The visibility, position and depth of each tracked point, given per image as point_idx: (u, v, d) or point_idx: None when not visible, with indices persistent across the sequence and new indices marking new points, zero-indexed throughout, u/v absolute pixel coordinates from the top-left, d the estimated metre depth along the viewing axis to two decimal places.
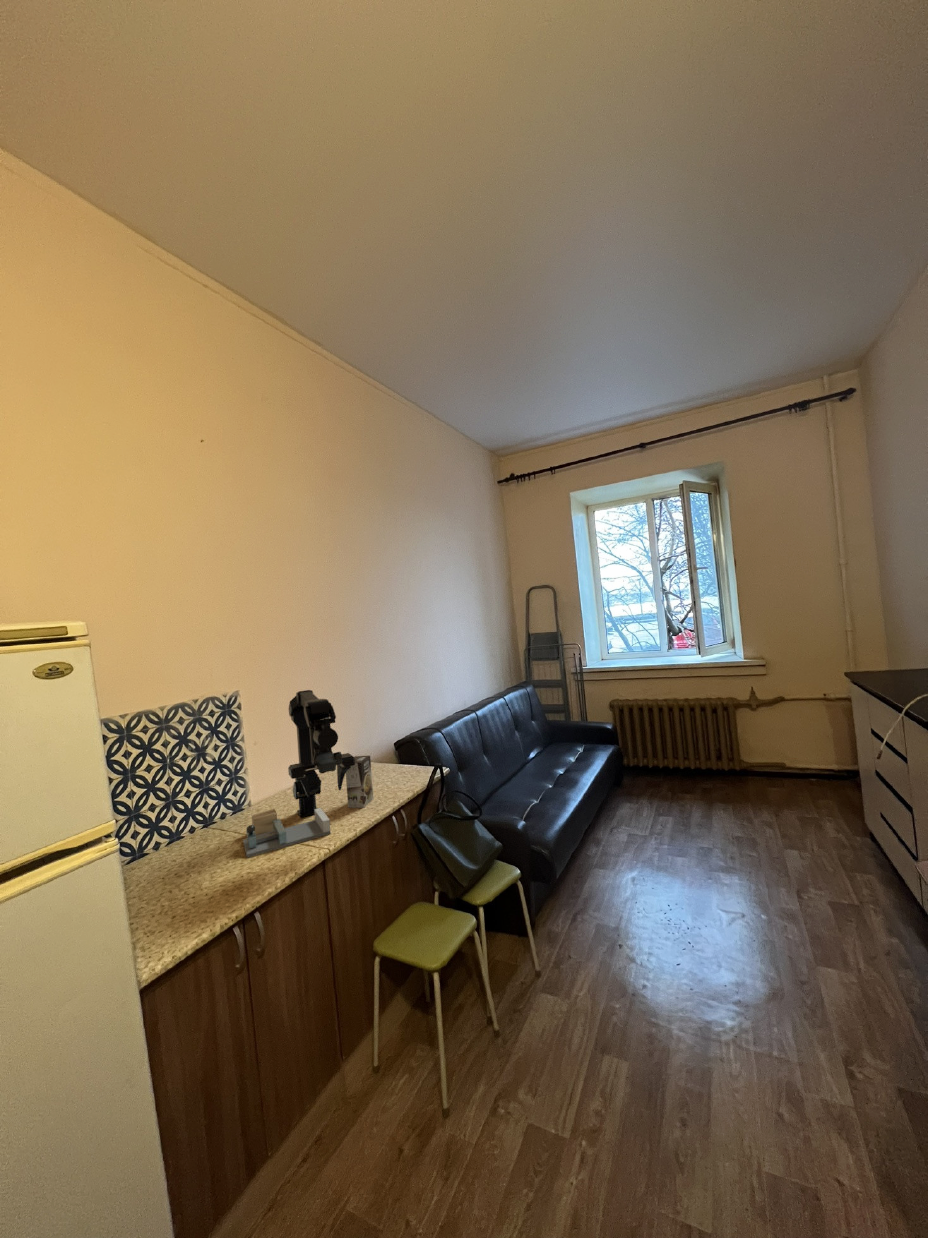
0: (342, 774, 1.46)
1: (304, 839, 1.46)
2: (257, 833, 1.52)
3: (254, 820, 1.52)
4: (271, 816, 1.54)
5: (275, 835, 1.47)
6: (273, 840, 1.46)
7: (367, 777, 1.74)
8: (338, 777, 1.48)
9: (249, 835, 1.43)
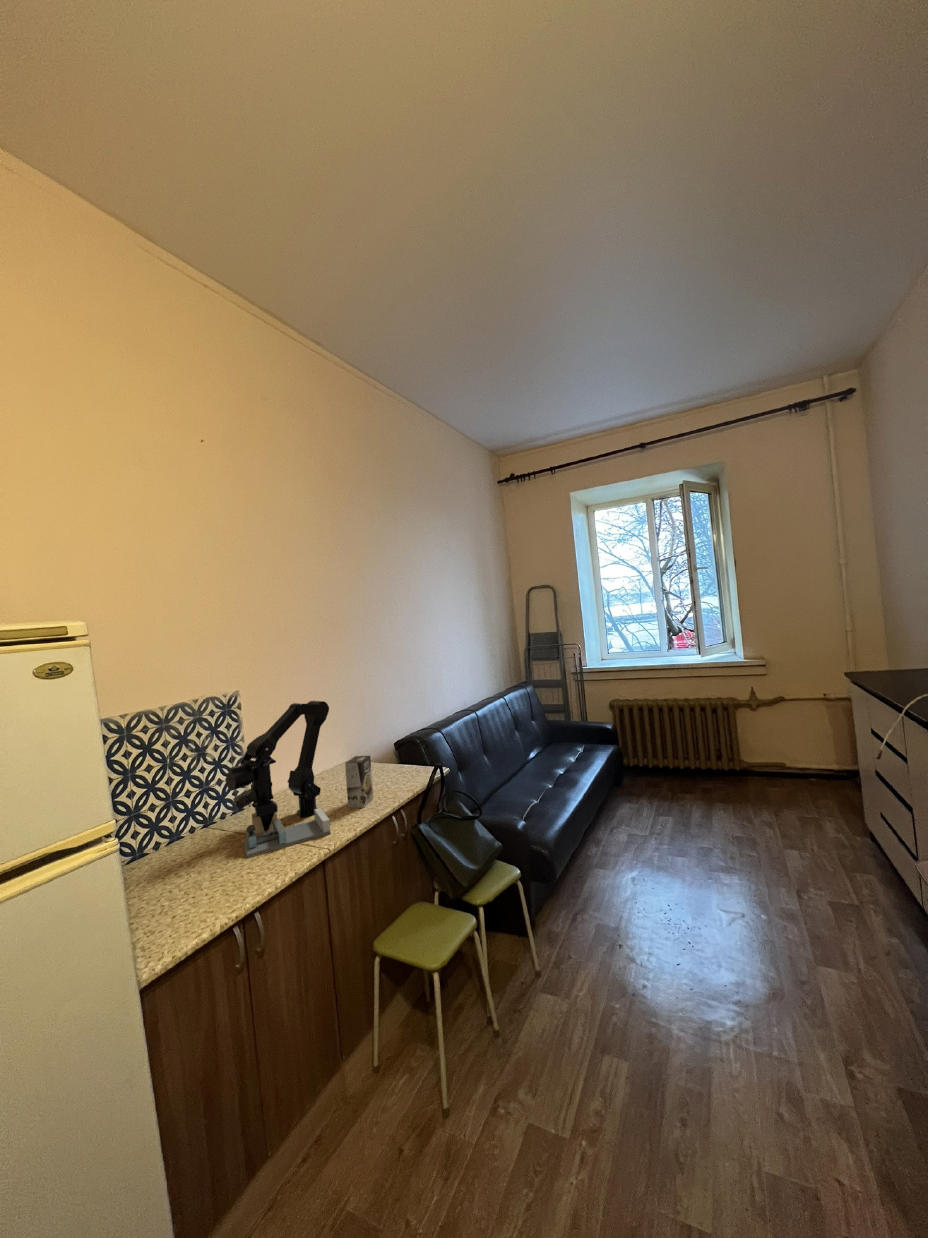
0: (260, 817, 1.52)
1: (304, 839, 1.46)
2: (257, 833, 1.52)
3: (254, 820, 1.52)
4: None
5: (275, 835, 1.47)
6: (273, 840, 1.46)
7: (366, 777, 1.74)
8: None
9: (249, 835, 1.43)
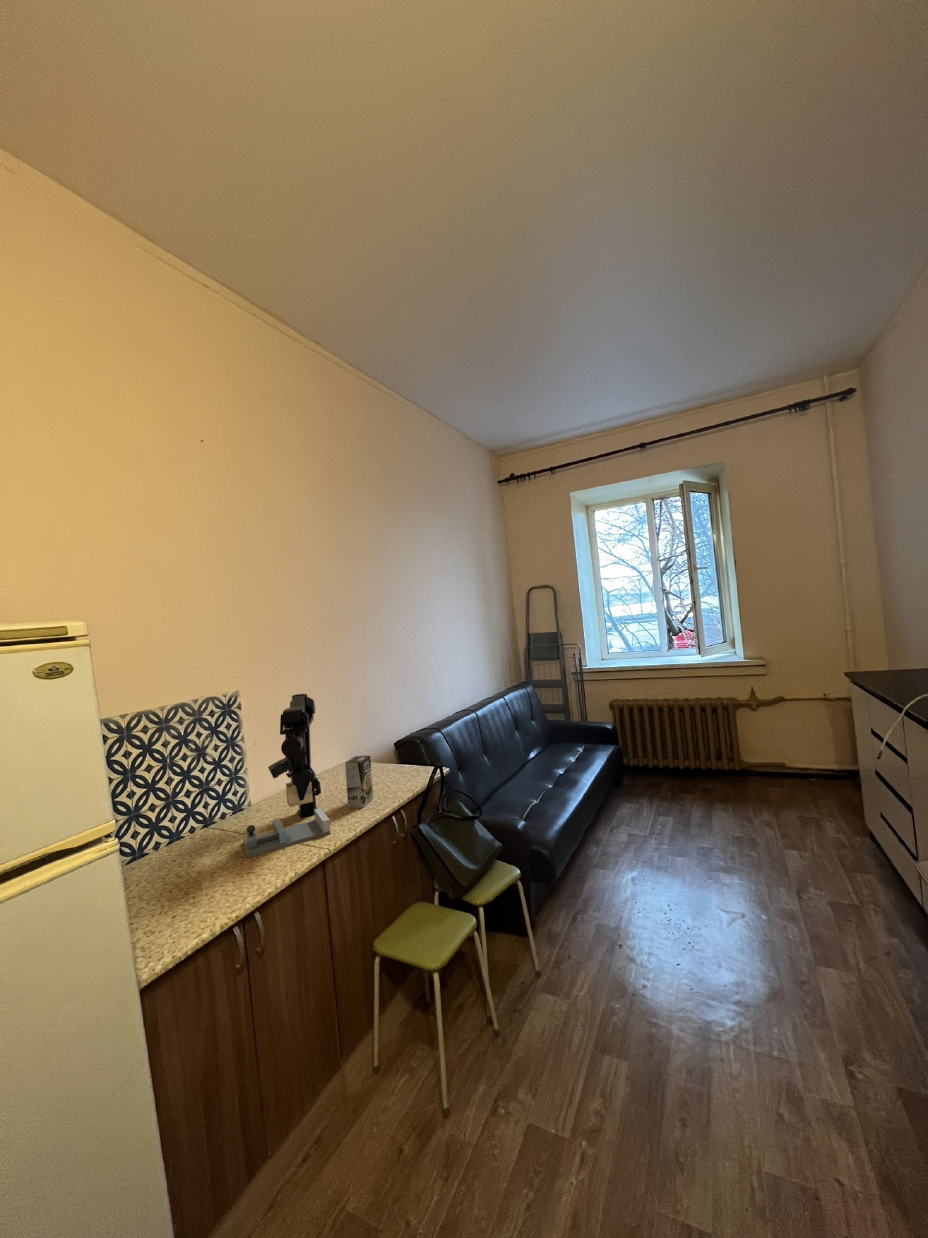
0: None
1: (304, 839, 1.46)
2: (292, 802, 1.49)
3: (289, 789, 1.49)
4: None
5: (275, 835, 1.47)
6: (273, 840, 1.46)
7: (367, 777, 1.74)
8: None
9: (249, 835, 1.43)
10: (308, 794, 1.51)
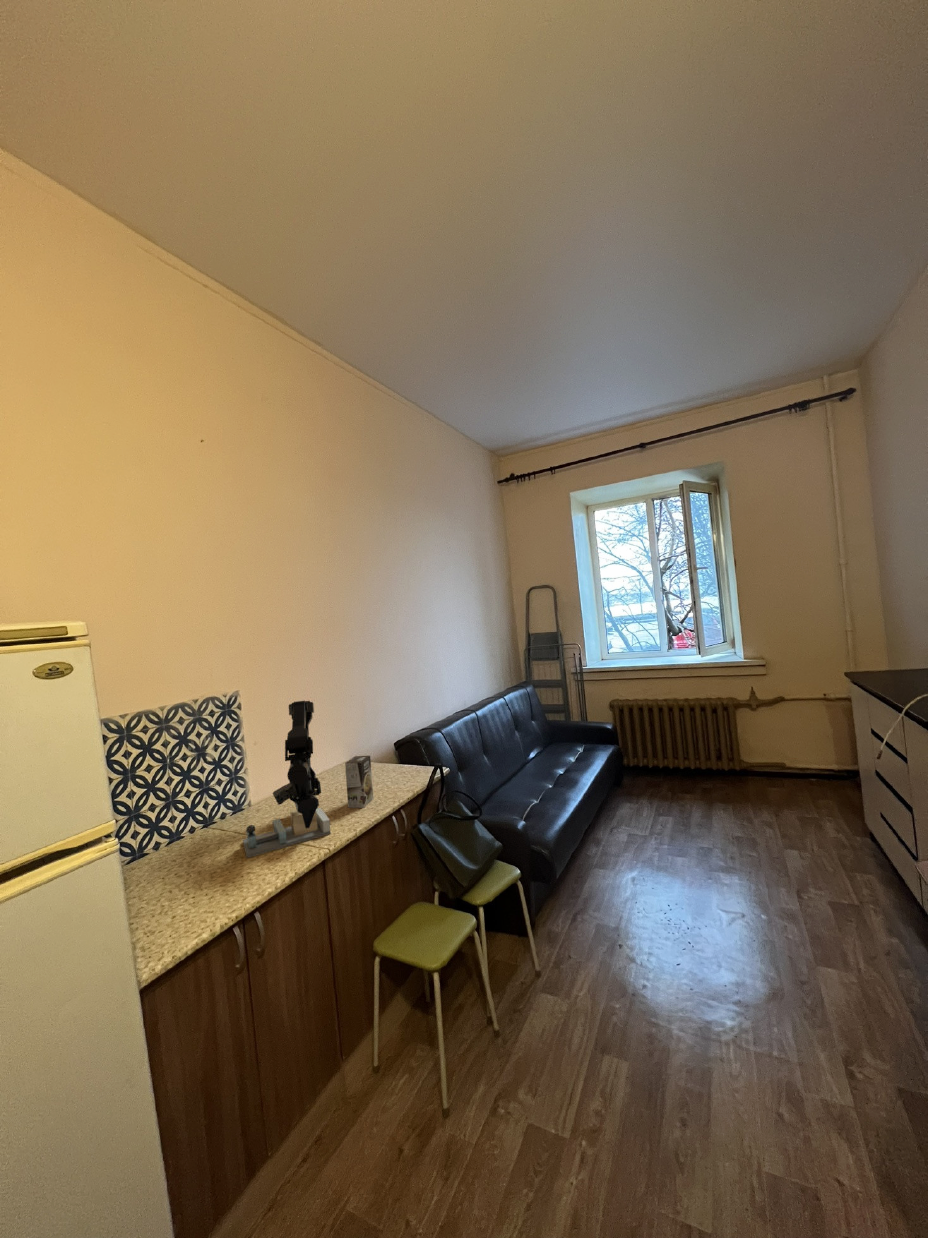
0: (302, 814, 1.47)
1: (304, 839, 1.46)
2: (297, 831, 1.49)
3: (294, 818, 1.48)
4: None
5: (275, 835, 1.47)
6: (273, 840, 1.46)
7: (367, 777, 1.74)
8: None
9: (249, 835, 1.43)
10: (313, 823, 1.51)
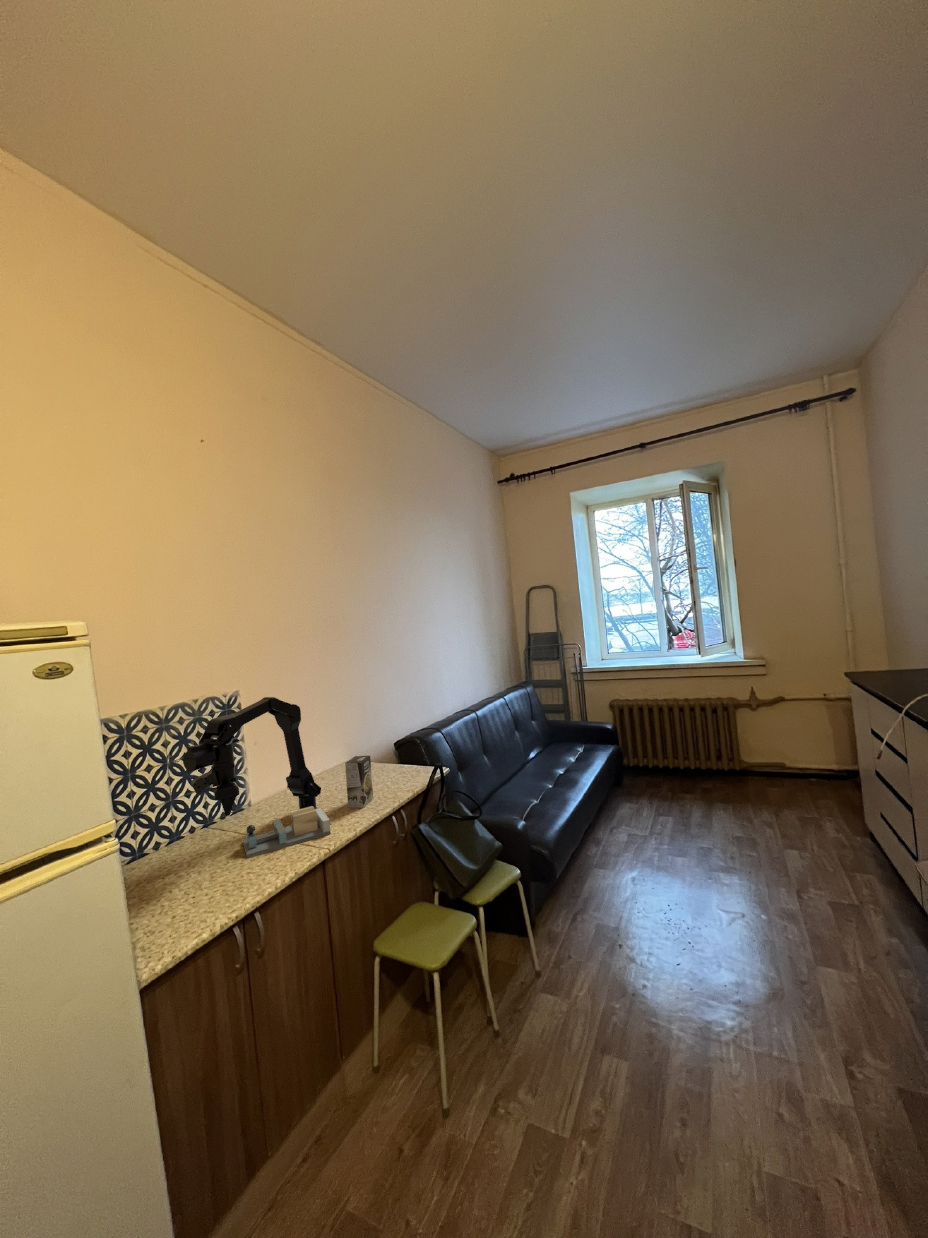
0: None
1: (304, 839, 1.46)
2: (297, 831, 1.49)
3: (294, 818, 1.48)
4: (311, 813, 1.51)
5: (275, 835, 1.47)
6: (273, 840, 1.46)
7: (367, 777, 1.74)
8: None
9: (249, 835, 1.43)
10: (313, 823, 1.51)
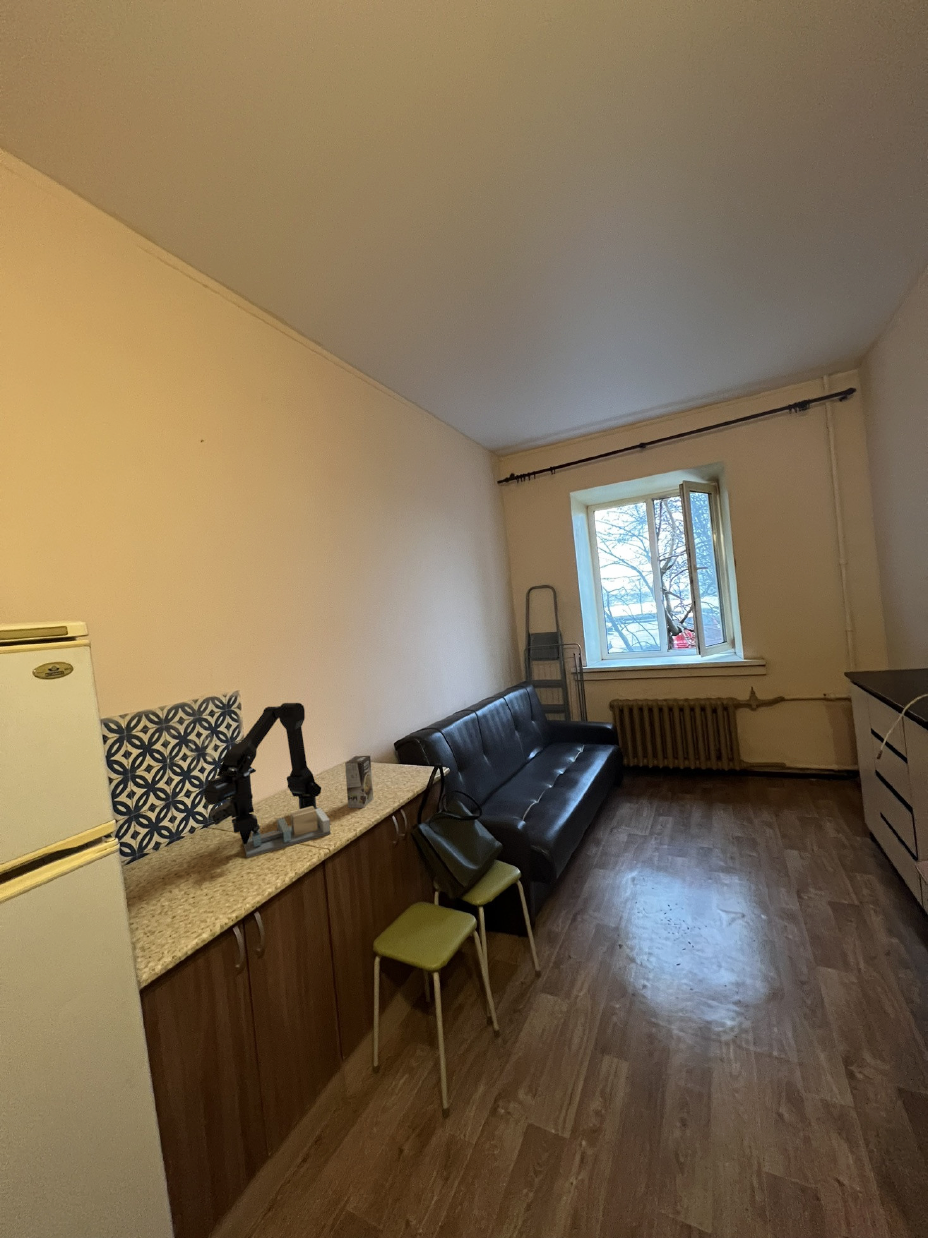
0: None
1: (304, 839, 1.46)
2: (297, 831, 1.49)
3: (294, 818, 1.48)
4: (311, 813, 1.51)
5: (279, 834, 1.48)
6: (273, 840, 1.46)
7: (367, 777, 1.74)
8: None
9: (254, 834, 1.44)
10: (313, 823, 1.51)
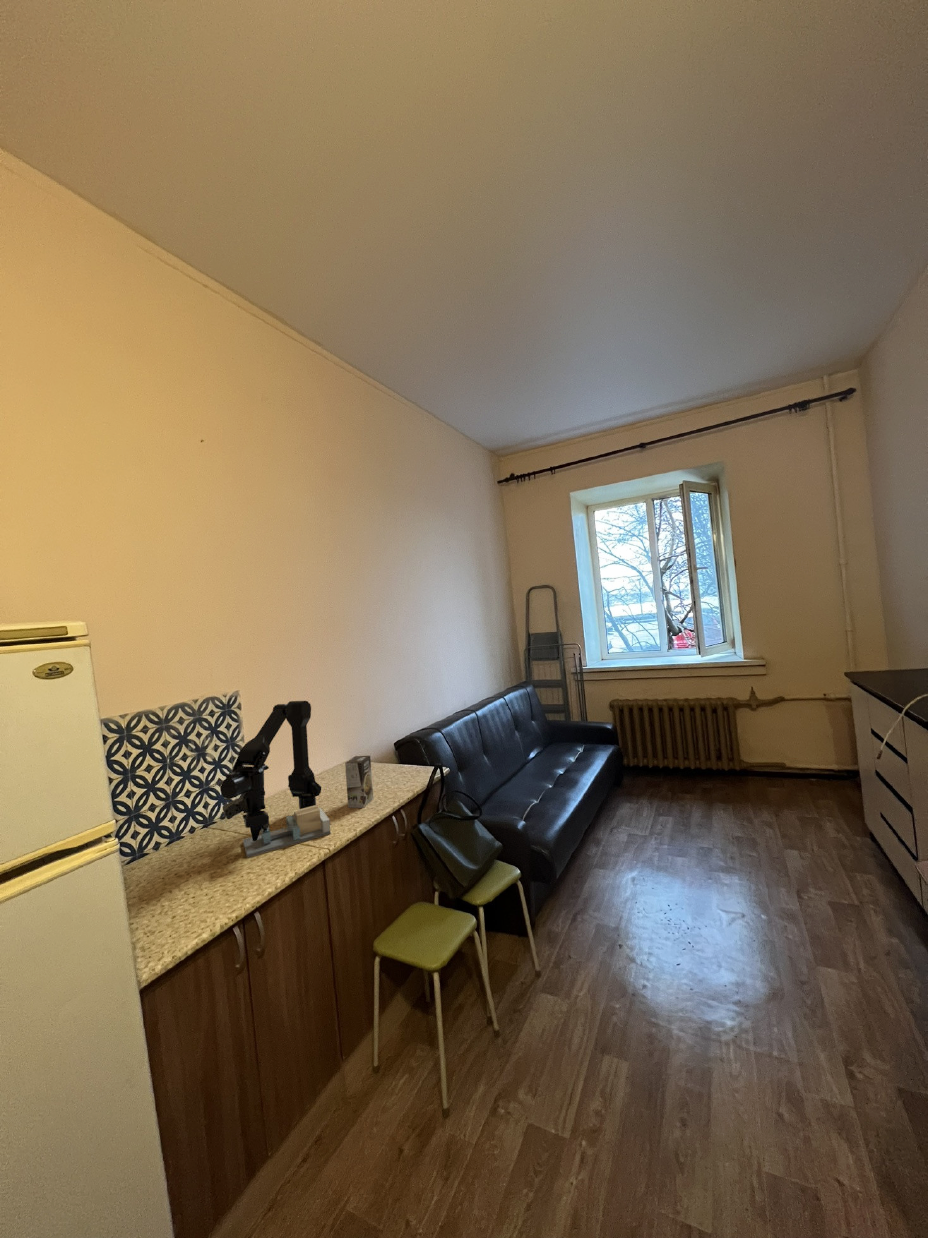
0: None
1: (304, 839, 1.46)
2: (301, 830, 1.49)
3: (298, 817, 1.49)
4: (314, 812, 1.52)
5: (289, 831, 1.49)
6: (273, 840, 1.46)
7: (367, 777, 1.74)
8: None
9: (263, 831, 1.45)
10: (317, 822, 1.52)
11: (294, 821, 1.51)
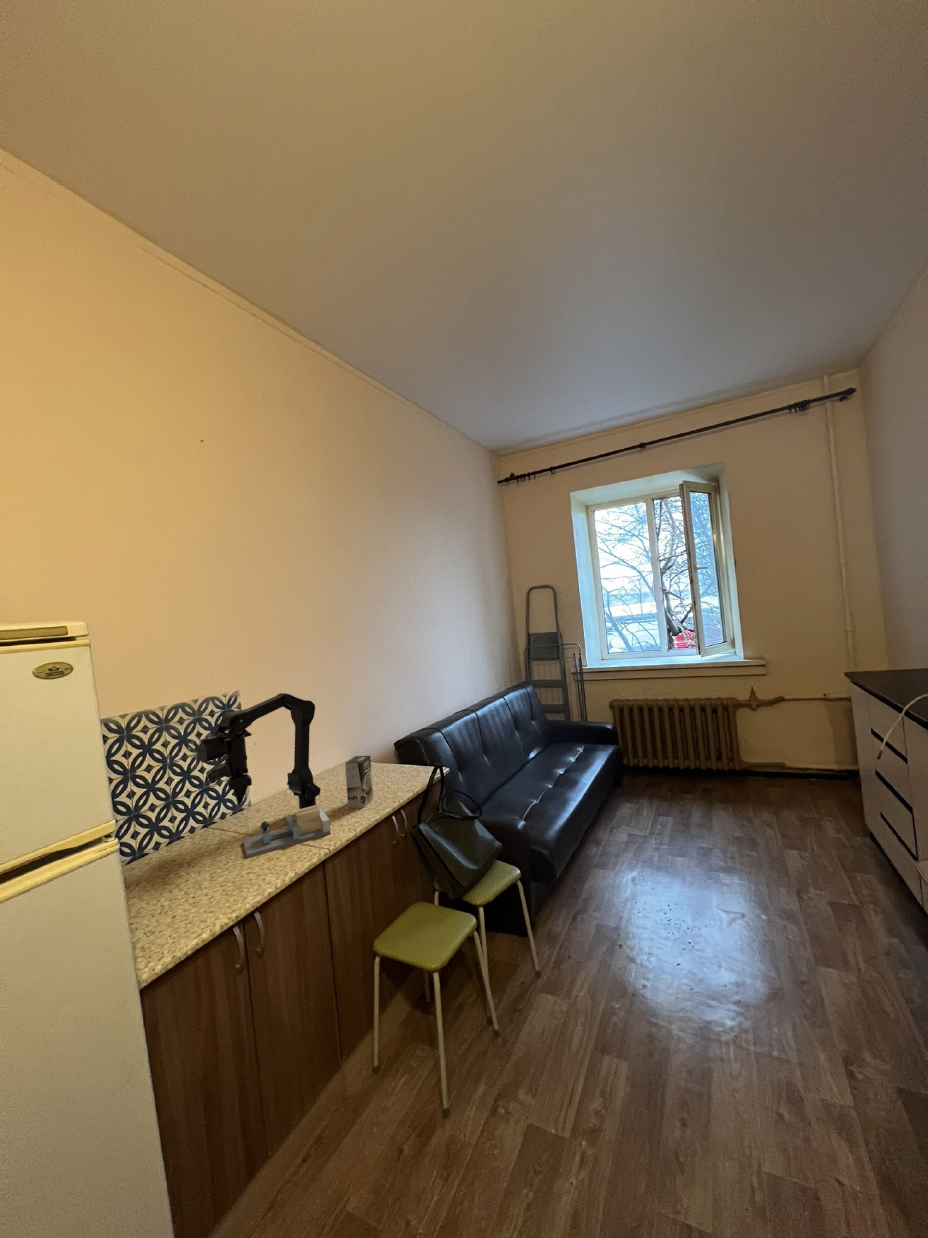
0: None
1: (304, 839, 1.46)
2: (300, 830, 1.49)
3: (298, 817, 1.49)
4: (314, 812, 1.52)
5: (289, 831, 1.49)
6: (273, 840, 1.46)
7: (367, 777, 1.74)
8: None
9: (263, 831, 1.45)
10: (317, 822, 1.52)
11: (294, 821, 1.51)
